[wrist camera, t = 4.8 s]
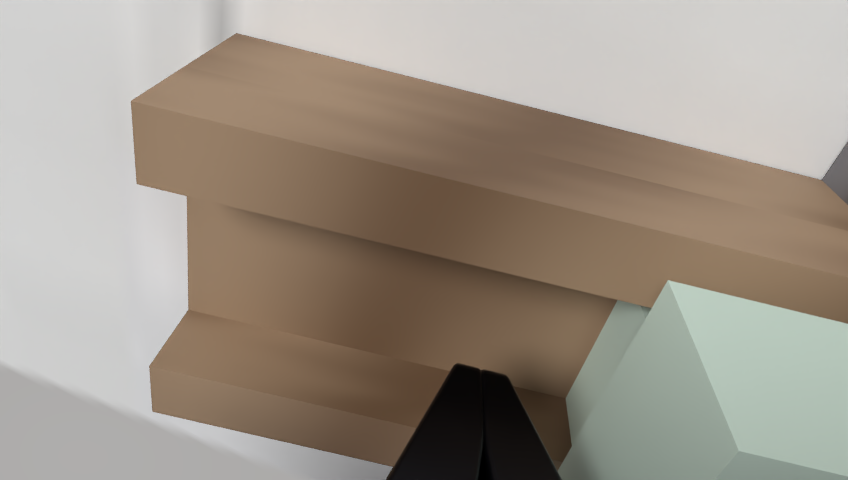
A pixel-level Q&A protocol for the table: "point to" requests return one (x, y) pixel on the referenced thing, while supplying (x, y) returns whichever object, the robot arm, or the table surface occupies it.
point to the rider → (710, 393)
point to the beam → (436, 243)
